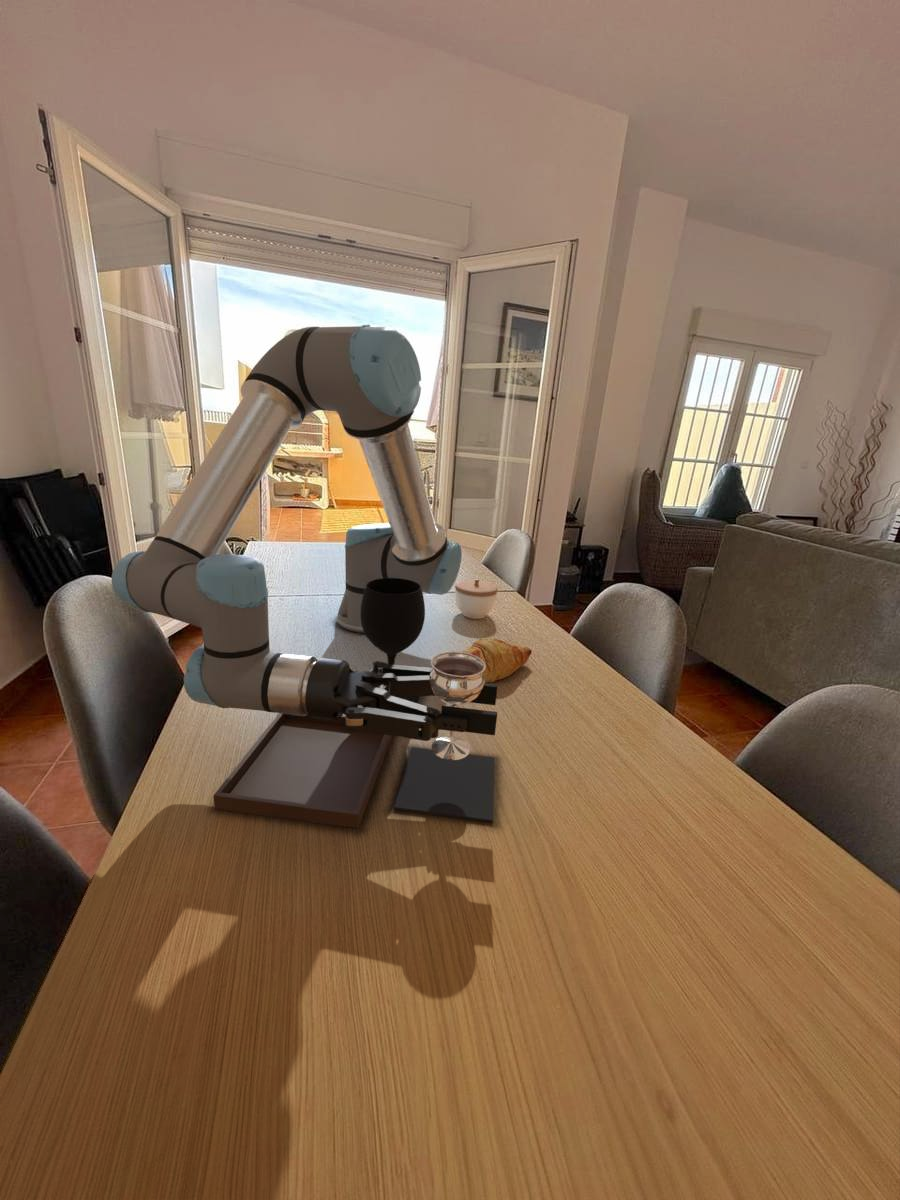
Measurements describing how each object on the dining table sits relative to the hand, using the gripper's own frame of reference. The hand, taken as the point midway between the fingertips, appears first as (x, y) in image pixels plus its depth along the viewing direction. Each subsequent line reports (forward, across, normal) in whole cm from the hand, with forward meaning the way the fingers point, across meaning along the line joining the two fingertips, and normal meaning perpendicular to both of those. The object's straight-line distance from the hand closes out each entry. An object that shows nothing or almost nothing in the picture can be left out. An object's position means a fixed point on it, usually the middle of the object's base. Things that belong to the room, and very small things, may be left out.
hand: (495, 708), depth 59 cm
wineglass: (-5, 0, -7) cm, 8 cm away
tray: (-23, 0, -12) cm, 26 cm away
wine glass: (-17, -20, -12) cm, 29 cm away
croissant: (-1, -33, -12) cm, 35 cm away
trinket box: (-5, -64, -12) cm, 65 cm away
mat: (-5, 0, -12) cm, 13 cm away
